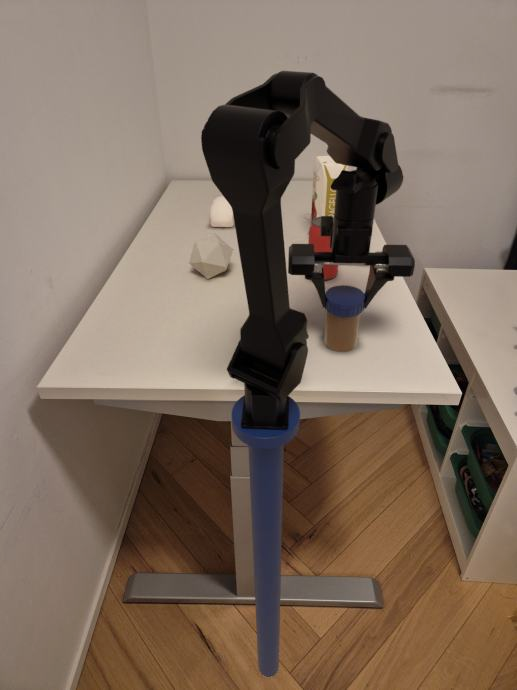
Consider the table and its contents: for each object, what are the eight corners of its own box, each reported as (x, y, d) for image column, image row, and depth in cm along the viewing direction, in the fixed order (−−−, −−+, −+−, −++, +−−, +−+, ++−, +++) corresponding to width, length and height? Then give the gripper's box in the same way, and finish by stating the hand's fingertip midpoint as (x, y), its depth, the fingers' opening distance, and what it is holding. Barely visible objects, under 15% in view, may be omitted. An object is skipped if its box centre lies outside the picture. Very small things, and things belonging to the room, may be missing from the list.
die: (217, 262, 108) (187, 232, 102) (246, 251, 103) (216, 219, 97) (206, 290, 104) (174, 261, 98) (235, 280, 98) (204, 248, 92)
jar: (358, 352, 79) (364, 306, 73) (324, 351, 79) (328, 306, 74) (354, 333, 83) (360, 289, 78) (323, 332, 84) (326, 288, 78)
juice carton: (338, 231, 120) (345, 153, 109) (345, 245, 113) (353, 164, 102) (309, 232, 120) (312, 154, 108) (314, 246, 113) (318, 165, 102)
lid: (366, 318, 74) (368, 305, 73) (325, 317, 74) (326, 305, 73) (361, 297, 79) (363, 285, 78) (323, 296, 80) (324, 284, 78)
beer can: (302, 278, 100) (305, 224, 93) (311, 265, 105) (314, 213, 98) (333, 283, 98) (337, 229, 91) (340, 270, 103) (345, 217, 96)
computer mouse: (239, 211, 133) (238, 189, 129) (233, 229, 122) (232, 205, 118) (217, 210, 133) (215, 188, 129) (209, 228, 123) (207, 205, 119)
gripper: (408, 196, 73) (393, 283, 83) (290, 196, 75) (288, 282, 84) (424, 223, 64) (405, 318, 74) (289, 222, 66) (287, 315, 75)
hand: (344, 306), depth 77 cm, fingers closed on lid, 6 cm apart
